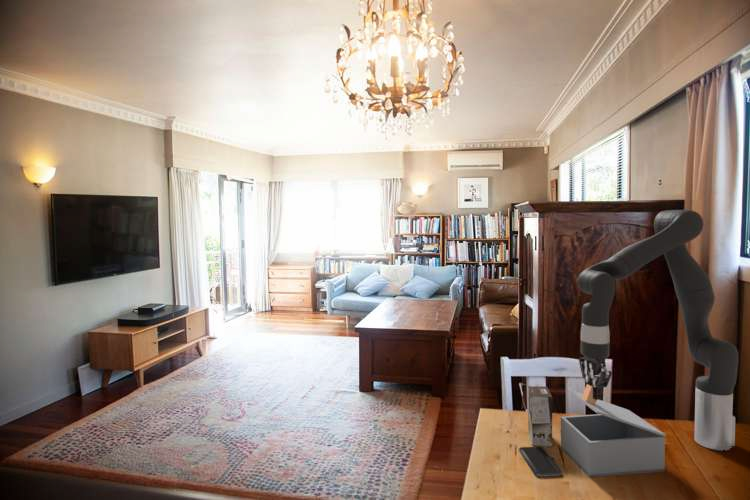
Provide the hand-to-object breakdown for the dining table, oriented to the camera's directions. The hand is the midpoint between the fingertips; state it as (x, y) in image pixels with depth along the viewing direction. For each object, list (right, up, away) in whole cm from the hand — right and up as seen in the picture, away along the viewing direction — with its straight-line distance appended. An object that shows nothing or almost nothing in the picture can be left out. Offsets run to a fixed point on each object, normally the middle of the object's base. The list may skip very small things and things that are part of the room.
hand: (594, 396), depth 130 cm
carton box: (+6, -19, +2) cm, 20 cm away
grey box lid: (+6, -5, +1) cm, 8 cm away
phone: (-15, -20, +1) cm, 26 cm away
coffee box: (-10, -19, +15) cm, 26 cm away
